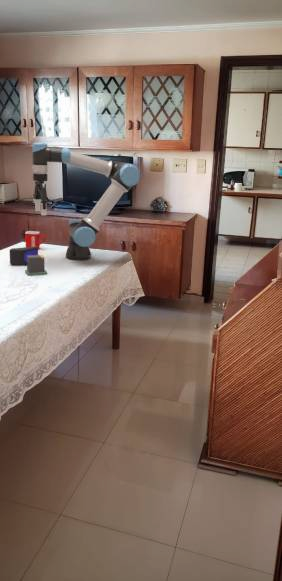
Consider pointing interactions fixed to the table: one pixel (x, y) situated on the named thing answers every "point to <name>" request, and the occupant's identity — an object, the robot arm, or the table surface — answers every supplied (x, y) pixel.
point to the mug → (33, 239)
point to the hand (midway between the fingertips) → (40, 213)
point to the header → (36, 273)
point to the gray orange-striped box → (35, 263)
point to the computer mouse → (21, 255)
